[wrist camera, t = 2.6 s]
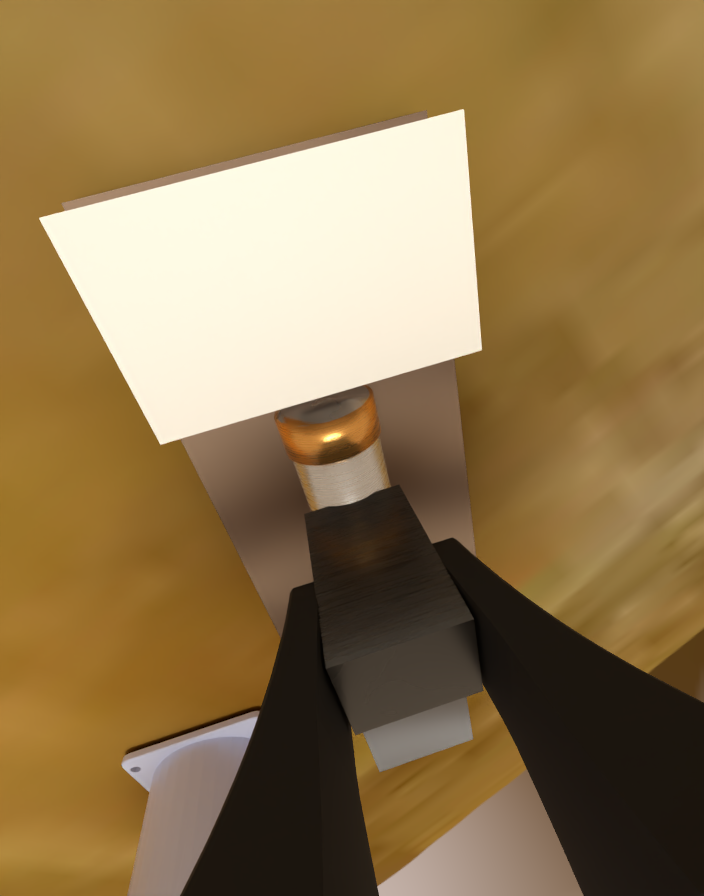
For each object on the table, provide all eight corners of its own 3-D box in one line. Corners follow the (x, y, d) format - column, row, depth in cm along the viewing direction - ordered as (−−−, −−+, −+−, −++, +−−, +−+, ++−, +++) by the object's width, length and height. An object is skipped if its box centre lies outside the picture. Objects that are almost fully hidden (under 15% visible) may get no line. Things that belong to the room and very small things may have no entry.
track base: (477, 631, 23) (531, 729, 19) (312, 686, 23) (324, 803, 18) (414, 120, 12) (514, 37, 7) (77, 206, 11) (-61, 177, 6)
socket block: (401, 311, 13) (481, 350, 8) (200, 368, 13) (160, 444, 8) (378, 168, 11) (463, 109, 6) (140, 230, 11) (39, 217, 6)
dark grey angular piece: (422, 637, 20) (501, 839, 13) (364, 657, 20) (415, 870, 13) (361, 374, 13) (460, 510, 6) (273, 400, 13) (280, 566, 6)
